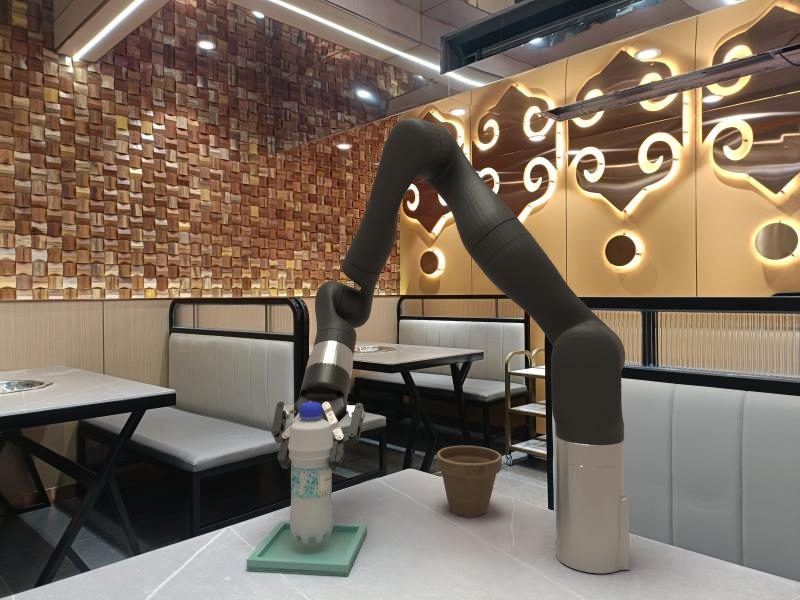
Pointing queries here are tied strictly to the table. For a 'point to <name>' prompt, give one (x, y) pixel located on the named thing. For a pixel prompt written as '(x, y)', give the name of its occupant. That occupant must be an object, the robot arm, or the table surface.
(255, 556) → the tray
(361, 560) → the table surface
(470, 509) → the flower pot
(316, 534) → the bottle
